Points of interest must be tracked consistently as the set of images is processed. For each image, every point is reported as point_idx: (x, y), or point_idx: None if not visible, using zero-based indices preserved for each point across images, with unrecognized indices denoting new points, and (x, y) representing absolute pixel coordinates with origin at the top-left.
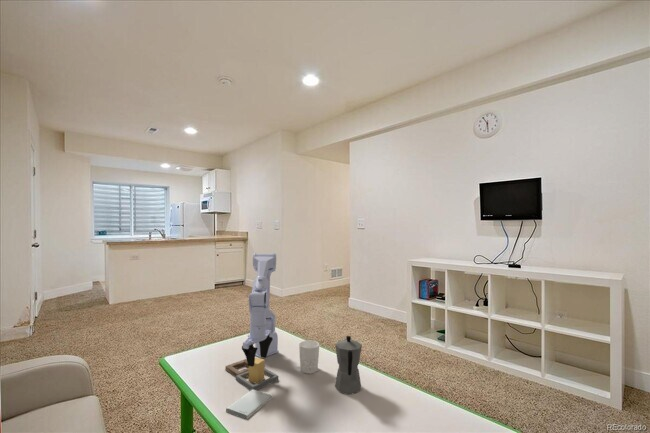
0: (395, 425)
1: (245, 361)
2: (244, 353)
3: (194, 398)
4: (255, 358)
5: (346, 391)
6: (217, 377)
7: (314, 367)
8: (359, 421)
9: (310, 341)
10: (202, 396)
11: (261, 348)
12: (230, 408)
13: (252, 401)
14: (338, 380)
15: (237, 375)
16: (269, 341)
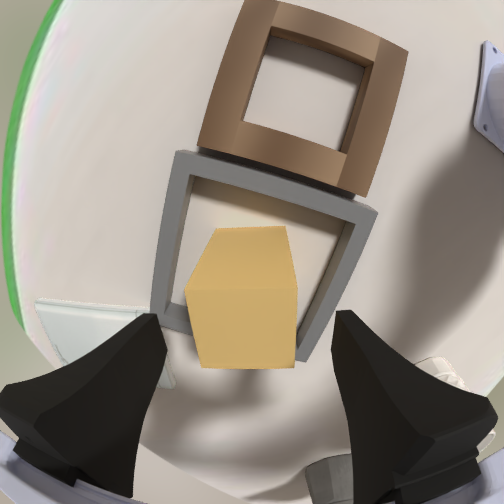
0: (249, 501)
1: (381, 67)
2: (58, 369)
3: (9, 139)
4: (274, 300)
5: (306, 476)
6: (153, 40)
7: None
8: (228, 487)
9: (489, 437)
10: (24, 150)
11: (361, 371)
12: (41, 316)
13: None
14: (319, 482)
15: (183, 158)
16: (354, 502)
